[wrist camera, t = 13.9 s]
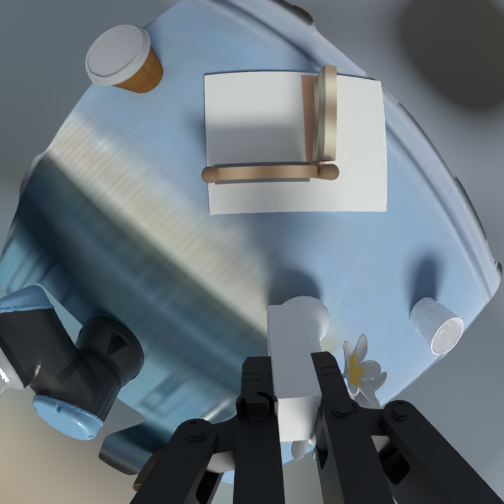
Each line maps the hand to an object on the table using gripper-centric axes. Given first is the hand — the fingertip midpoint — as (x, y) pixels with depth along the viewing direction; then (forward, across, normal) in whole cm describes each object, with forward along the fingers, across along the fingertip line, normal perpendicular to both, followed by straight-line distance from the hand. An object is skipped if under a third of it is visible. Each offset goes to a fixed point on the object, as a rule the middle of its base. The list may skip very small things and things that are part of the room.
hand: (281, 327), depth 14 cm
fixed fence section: (+28, -1, -8) cm, 29 cm away
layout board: (+28, -6, -13) cm, 32 cm away
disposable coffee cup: (+29, +18, -26) cm, 43 cm away
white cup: (+29, -32, +18) cm, 47 cm away
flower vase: (+29, -6, +16) cm, 33 cm away
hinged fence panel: (+28, -9, -16) cm, 33 cm away
